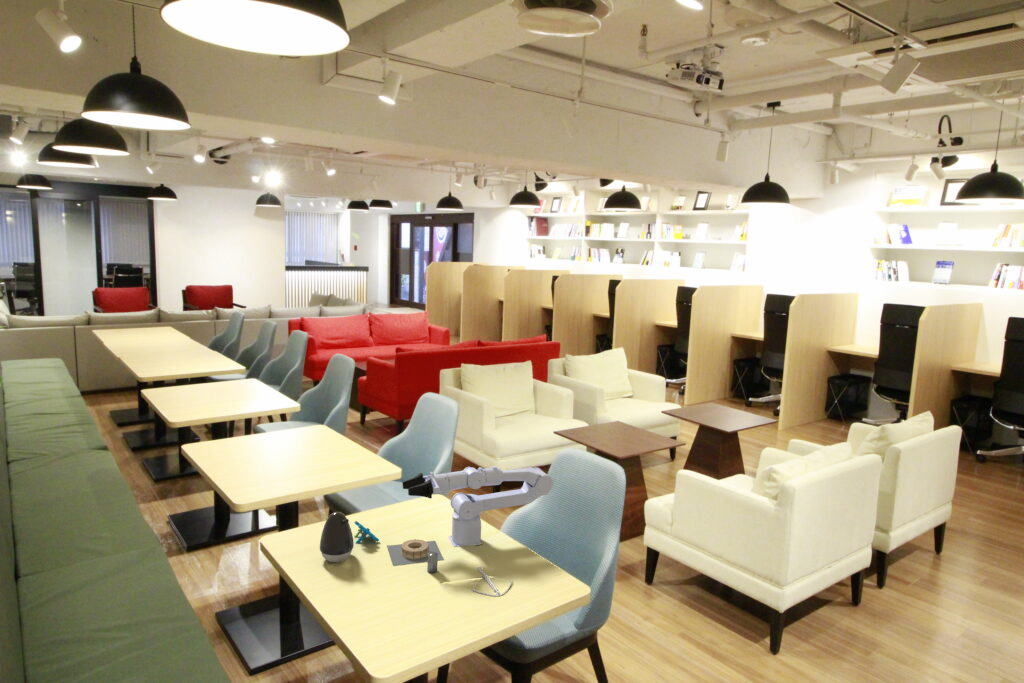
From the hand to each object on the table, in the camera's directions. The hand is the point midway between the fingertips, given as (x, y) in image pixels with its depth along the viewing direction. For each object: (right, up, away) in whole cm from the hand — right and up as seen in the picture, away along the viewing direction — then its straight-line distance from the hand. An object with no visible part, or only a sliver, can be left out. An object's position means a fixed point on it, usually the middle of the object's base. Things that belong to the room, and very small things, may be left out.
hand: (405, 488), depth 208 cm
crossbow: (+27, -25, -15) cm, 40 cm away
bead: (+3, -21, +1) cm, 21 cm away
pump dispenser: (-21, -21, -4) cm, 30 cm away
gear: (-15, -20, +8) cm, 26 cm away
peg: (+10, -23, -11) cm, 27 cm away
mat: (+3, -21, +1) cm, 21 cm away
